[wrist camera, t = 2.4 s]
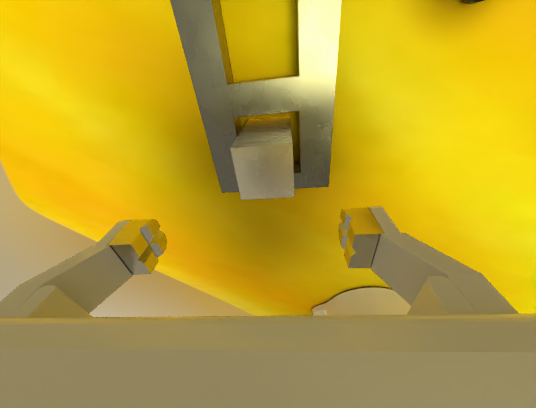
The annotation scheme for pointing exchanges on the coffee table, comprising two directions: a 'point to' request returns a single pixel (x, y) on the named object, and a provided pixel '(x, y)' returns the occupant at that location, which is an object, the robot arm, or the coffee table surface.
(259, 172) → the steel block
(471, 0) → the battery charger
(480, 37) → the coffee table surface
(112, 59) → the coffee table surface
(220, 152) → the grey slotted board
